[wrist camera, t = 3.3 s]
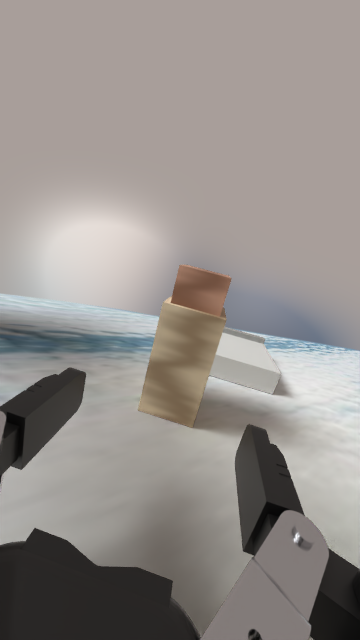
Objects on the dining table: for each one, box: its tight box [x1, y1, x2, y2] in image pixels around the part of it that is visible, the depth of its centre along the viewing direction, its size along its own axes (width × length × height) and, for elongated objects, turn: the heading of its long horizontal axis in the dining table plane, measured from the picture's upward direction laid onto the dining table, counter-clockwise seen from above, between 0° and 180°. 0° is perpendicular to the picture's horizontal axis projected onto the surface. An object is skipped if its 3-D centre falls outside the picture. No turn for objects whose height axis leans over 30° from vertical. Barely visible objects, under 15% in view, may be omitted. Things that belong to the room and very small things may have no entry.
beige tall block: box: [138, 265, 231, 428], centre depth 21 cm, size 5×5×13 cm
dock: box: [209, 327, 281, 394], centre depth 35 cm, size 14×12×4 cm
